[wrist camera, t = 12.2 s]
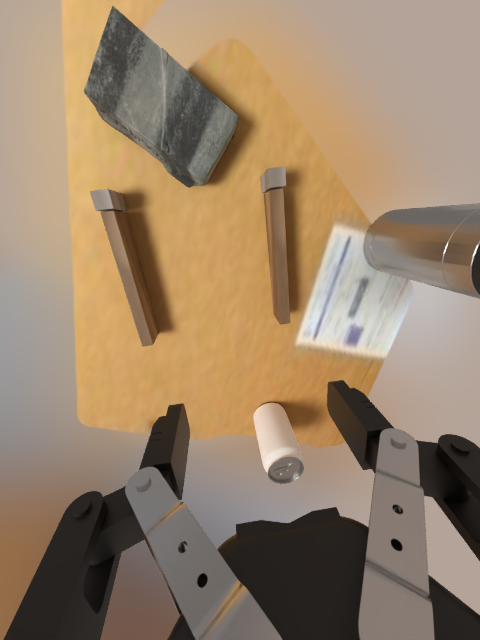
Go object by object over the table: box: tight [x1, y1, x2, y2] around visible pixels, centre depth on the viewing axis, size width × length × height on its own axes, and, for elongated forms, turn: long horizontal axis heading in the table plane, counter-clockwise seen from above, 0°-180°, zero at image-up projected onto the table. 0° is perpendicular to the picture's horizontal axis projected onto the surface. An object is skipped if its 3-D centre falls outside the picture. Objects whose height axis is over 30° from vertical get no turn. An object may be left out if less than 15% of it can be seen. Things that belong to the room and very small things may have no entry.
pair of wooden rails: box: [90, 167, 290, 346], centre depth 34 cm, size 22×20×5 cm
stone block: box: [84, 6, 239, 187], centre depth 28 cm, size 9×14×5 cm, turn 56°
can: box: [254, 403, 304, 484], centre depth 43 cm, size 6×6×12 cm
